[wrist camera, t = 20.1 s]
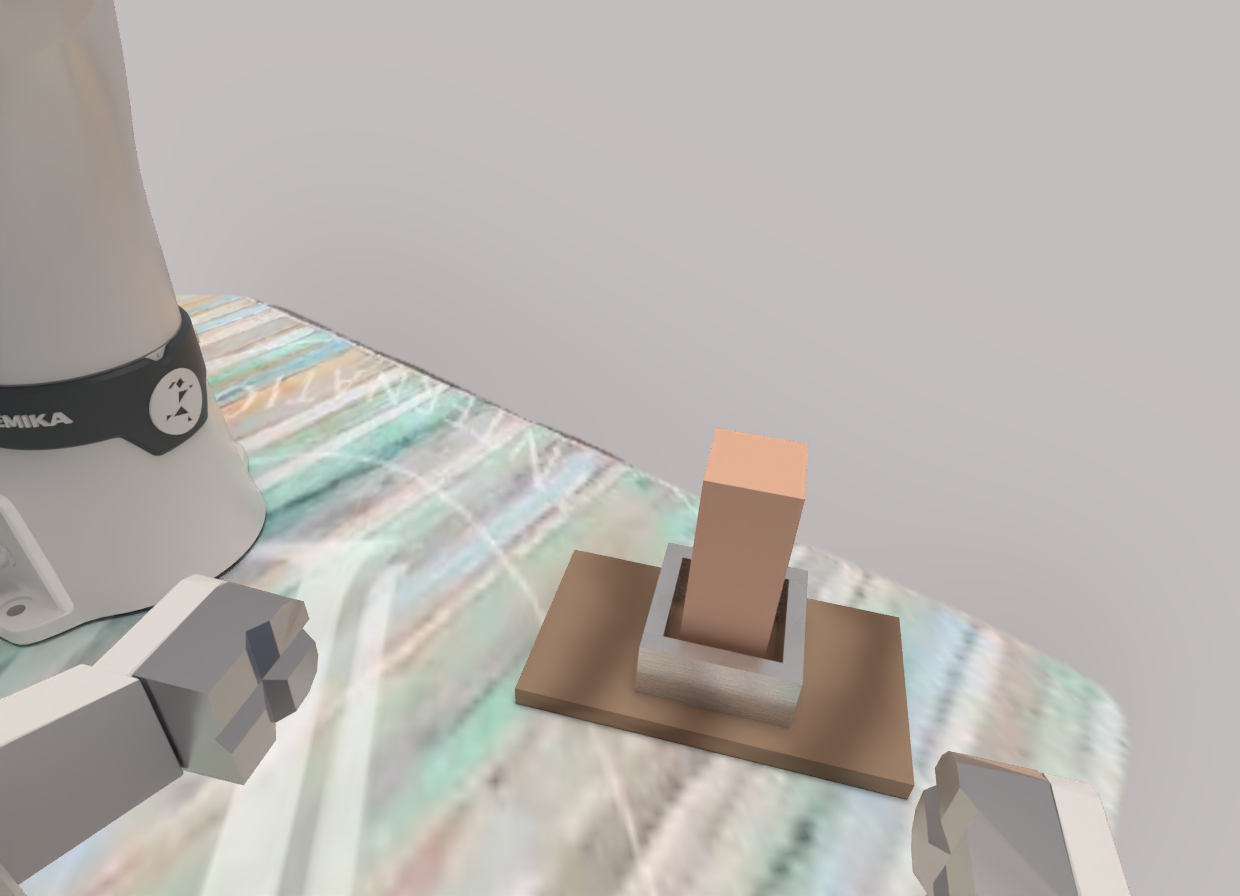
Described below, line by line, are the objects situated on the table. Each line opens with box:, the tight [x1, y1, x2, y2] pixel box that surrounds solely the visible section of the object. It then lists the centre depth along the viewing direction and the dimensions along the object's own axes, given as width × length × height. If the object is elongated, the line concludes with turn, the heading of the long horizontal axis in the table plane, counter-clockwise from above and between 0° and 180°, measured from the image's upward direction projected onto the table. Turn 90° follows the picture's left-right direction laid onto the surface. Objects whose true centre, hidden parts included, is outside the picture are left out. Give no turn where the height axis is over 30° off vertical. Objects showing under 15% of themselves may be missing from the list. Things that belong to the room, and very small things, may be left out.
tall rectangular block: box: [679, 428, 808, 659], centre depth 38 cm, size 4×4×13 cm
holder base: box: [515, 550, 914, 799], centre depth 42 cm, size 20×11×1 cm, turn 77°
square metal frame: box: [635, 543, 808, 728], centre depth 41 cm, size 8×8×4 cm
